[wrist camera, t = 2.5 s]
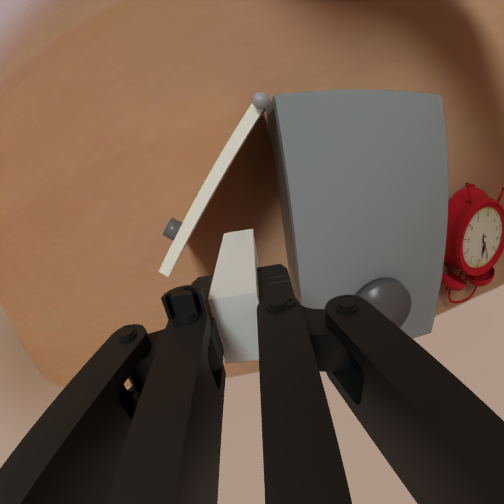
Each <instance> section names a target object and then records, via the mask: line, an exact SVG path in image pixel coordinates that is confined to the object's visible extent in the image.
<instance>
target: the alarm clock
mask: <svg viewBox="0 0 504 504" xmlns="http://www.w3.org/2000/svg"><path fill="white" fill-rule="evenodd" d="M465 185H466V187H467V188H464V189H462V190H460V191H458V192H457V193H456V194H455V195H454V196H453V197H452V198H451V199H450V200H449V202H448V220H447V235H446V246H445V256H444V262H445V263H446V264H447V265H448V266H450V267H452V268H454V269H461V270H462V271H461V273H460V275H459V276H457V275H456V274H454V273H453V272H451V271H449V273H448V274H447V275H446V274H444V273H443V272H442V279H441V283H443V284H444V285H445V286H446V288H445V290H446V291H447V289H448V288H449V292H448V298H449V301H450V302H452V303H461V302H464V301H466V300H468V299H469V298H471V296H472V295H473V294H474V292H475V290H476V288H477V286H485V285H487V284H489V283H490V282H491V281H492V279H493V278H494V268H493V265H494V264H495V263H496V262H497V260H498V259H499V257H500V255H501V253H502V251H503V249H504V209H503V207H502V206H501V205H500V204H499V201H500V199H501V196H502V194H503V191H504V187H503V188H502V192H501V194H500V196H499V198H498V200H497V201H496V200H494V199H491V198H489V197H488V195H487V194H486V193H485V192H484V191H482V190H481V189H478V188H475V185H474V184H470V187H469V184H468V183H466V184H465ZM463 272H465V273H466V276H465V279H463V280H462V279H461V278H460V277H461V275H462V273H463ZM467 279H468V280H469V282H470V283H471V284H473V285H475V288H474V291H473V292H472V294H471V295H470V296H469V297H468V298H466V299H464V300H461V301H452V300H451V299H450V290H451V289H453V290H456V291H460V290H463V289H464V287H465V285H466V283H465V281H467Z"/></svg>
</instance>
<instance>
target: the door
mask: <svg viewBox="0 0 504 504" xmlns="http://www.w3.org/2000/svg"><path fill="white" fill-rule="evenodd" d="M269 102H270V98H269V96H268V95H267V94H266V93H264V92H259V93H256V94H255V95H254V97H253V102H252V104H251V105H250V107H249V109H248V110H247V112H246V113H245V115H244V116H243V118H242V120H241V121H240V123H239V124H238V126H237V128H236V129H235V131H234V133H233V134H232V136H231V138H230V139H229V141H228V143H227V144H226V146H225V148H224V149H223V151H222V153H221V154H220V156H219V158H218V159H217V161H216V163H215V165H214V166H213V168H212V170H211V172H210V173H209V175H208V177H207V179H206V181H205V182H204V184H203V186H202V188H201V190H200V191H199V193H198V195H197V197H196V199H195V201H194V202H193V204H192V206H191V208H190V210H189V212H188V214H187V216H186V218H185V219H184V221H183V223H182V222H180V221H178V220H176V219H174V218H171V220H170V221H169V223H168V225H167V226H166V228H165V230H164V233H163V235H164V236H166V237H168V238H169V239H171V240H173V243H172V245H171V247H170V249H169V251H168V253H167V255H166V257H165V259H164V261H163V263H162V266H161V268H160V270H159V272H160V273H162V274H164V275H166V276H168V277H169V275H170V273H171V271H172V269H173V267H174V266H175V264H176V262H177V260H178V258H179V257H180V255H181V253H182V251H183V249H184V248H185V246H186V244H187V242H188V240H189V239H190V237H191V235H192V233H193V231H194V229H195V227H196V226H197V224H198V222H199V220H200V218H201V216H202V215H203V213H204V211H205V209H206V207H207V206H208V204H209V202H210V200H211V198H212V197H213V195H214V193H215V191H216V190H217V188H218V186H219V184H220V183H221V181H222V179H223V177H224V176H225V174H226V172H227V171H228V169H229V167H230V166H231V164H232V162H233V160H234V159H235V157H236V155H237V154H238V152H239V150H240V149H241V147H242V146H243V144H244V142H245V141H246V139H247V137H248V136H249V134H250V133H251V131H252V129H253V128H254V126H255V125H256V123H257V121H258V120H259V118H261V117H262V116H263V114H264V112H265V110H266V108H267V106H268V104H269Z"/></svg>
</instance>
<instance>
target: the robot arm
mask: <svg viewBox="0 0 504 504" xmlns="http://www.w3.org/2000/svg"><path fill="white" fill-rule="evenodd" d="M161 299H162V302H163V305H164V308H165V311H166V314H167V316H168V319H169V320H168V323H167V326H166V328H165V329H163V330H160V331H157V332H153V333H150V334H147V331H146V329H145V328H144V327H143V326H142V325H138V324H133V325H126V326H123V327H122V328H120V329H118V330H117V331H116V332H114V333H113V334H112V335H111V336H110V337H109V339H108V340H107V341H106V342H105V343H104V344H103V345H102V346H101V347H100V348H99V350H98V351H97V352H96V353H95V354H94V355H93V356H92V357H91V358H90V360H89V361H88V362H87V363H86V364H85V365H84V366H83V367H82V369H81V370H80V371H79V372H78V373H77V374H76V375H75V377H74V378H73V379H72V380H71V381H70V382H69V384H68V385H67V386H66V387H65V388H64V390H63V391H62V392H61V393H60V394H59V395H58V396H57V398H56V399H55V400H54V401H53V402H52V404H51V405H50V406H49V407H48V409H47V410H46V411H45V412H44V413H43V414H42V416H41V417H40V418H39V420H38V421H37V422H36V423H35V424H34V426H33V427H32V428H31V429H30V431H29V432H28V433H27V434H26V436H25V437H24V438H23V439H22V441H21V442H20V443H19V445H18V446H17V447H16V449H15V450H14V451H13V452H12V454H11V455H10V456H9V458H8V459H7V461H6V462H5V463H4V464H3V466H2V467H1V468H0V504H217V498H218V480H219V463H220V446H221V432H222V417H223V402H224V388H225V376H226V373H225V369H224V366H223V354H224V357H225V360H226V363H236V362H245V361H253V360H259V371H260V391H261V392H260V393H261V415H262V437H263V458H264V459H263V460H264V483H265V504H352V501H351V497H350V492H349V488H348V483H347V479H346V475H345V471H344V467H343V462H342V458H341V454H340V450H339V446H338V442H337V438H336V434H335V430H334V426H333V422H332V418H331V414H330V410H329V406H328V402H327V399H326V395H325V391H324V388H323V384H322V380H321V376H320V373H319V371H325V372H326V373H327V375H328V377H329V379H330V380H331V382H332V383H333V384H334V386H335V387H336V389H337V390H338V392H339V393H340V394H341V396H342V397H343V399H344V400H345V402H346V403H347V404H348V406H349V407H350V409H351V410H352V412H353V413H354V415H355V416H356V417H357V419H358V420H359V422H360V423H361V424H362V426H363V427H364V429H365V430H366V432H367V433H368V434H369V436H370V437H371V439H372V440H373V441H374V443H375V444H376V446H377V447H378V449H379V450H380V451H381V453H382V454H383V456H384V457H385V458H386V460H387V461H388V463H389V464H390V466H391V467H392V468H393V470H394V471H395V472H396V474H397V475H398V477H399V478H400V480H401V481H402V482H403V484H404V485H405V487H406V488H407V489H408V491H409V492H410V494H411V495H412V496H413V498H414V499H415V501H416V502H417V503H418V504H504V421H503V420H502V419H501V418H500V417H499V416H497V415H496V414H495V413H494V412H493V411H492V410H491V409H490V408H489V407H488V406H487V405H486V404H485V403H484V402H483V401H482V400H480V399H479V398H478V397H477V396H476V395H475V394H474V393H473V392H472V391H471V390H469V388H468V387H466V386H465V385H464V384H463V383H462V382H461V381H460V380H459V379H458V378H456V377H455V376H454V375H453V374H452V373H451V372H450V371H449V370H447V369H446V368H445V367H444V366H443V365H442V364H441V363H440V362H438V361H437V360H436V359H435V358H434V357H433V356H432V355H430V354H429V353H428V352H427V351H426V350H425V349H424V348H422V347H421V346H420V345H419V344H418V343H416V342H415V341H414V340H413V339H412V338H411V337H410V336H408V335H407V334H406V333H405V332H404V331H403V330H401V329H400V328H399V327H398V326H397V325H395V324H394V323H393V322H392V321H391V320H389V319H388V318H387V317H386V316H385V315H383V314H382V313H381V312H380V311H379V310H377V309H376V308H375V307H374V306H373V305H371V304H370V303H369V302H368V301H366V300H365V299H363V298H361V297H360V296H355V295H341V296H337V297H334V298H332V299H330V300H329V301H328V302H327V303H326V306H325V309H312V308H307V307H304V306H302V305H300V303H299V301H298V300H297V298H295V295H294V291H293V288H292V284H291V281H290V278H289V274H288V271H287V268H285V267H284V266H283V265H281V264H277V265H271V266H265V267H259V262H258V256H257V250H256V244H255V238H254V232H253V229H247V230H241V231H235V232H229V233H224V235H223V239H222V243H221V247H220V251H219V255H218V259H217V263H216V267H215V272H214V275H211V276H204V277H198V278H197V279H196V280H195V281H194V282H193V283H192V284H191V285H185V286H181V287H177V288H174V289H172V290H170V291H168V292H167V293H165V294H164V295H163V296H162V298H161ZM127 379H129V380H130V382H131V384H132V386H131V388H129V389H128V390H127V389H126V388H125V386H124V383H125V381H126V380H127Z"/></svg>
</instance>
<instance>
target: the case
mask: <svg viewBox="0 0 504 504" xmlns="http://www.w3.org/2000/svg"><path fill="white" fill-rule="evenodd" d="M266 115H267V120H268V126H269V133H270V139H271V145H272V151H273V158H274V164H275V171H276V178H277V184H278V191H279V198H280V206H281V213H282V220H283V228H284V235H285V243H286V251H287V259H288V268H289V276H290V281H291V284H292V288H293V291H294V295H295V298H297V300H298V301H299V303H300V305H302V306H304V307H307V308H312V309H325V306H326V303H327V302H328V301H329V300H330V299H332V298H334V297H337V296H341V295H355V296H360V297H361V298H363V299H365V300H366V301H368V302H369V303H370V304H371V305H373V306H374V307H375V308H376V309H377V310H379V311H380V312H381V313H382V314H383V315H385V316H386V317H387V318H388V319H389V320H391V321H392V322H393V323H394V324H395V325H397V326H398V327H399V328H400V329H401V330H403V331H404V332H405V333H406V334H407V335H408V336H410V337H411V338H415V337H419V336H422V335H425V334H428V333H431V330H432V325H433V321H434V317H435V312H436V307H437V302H438V297H439V291H440V285H441V279H442V272H443V264H444V256H445V246H446V235H447V220H448V152H447V138H446V127H445V118H444V110H443V103H442V96H441V95H439V94H430V93H420V92H408V91H392V90H325V91H308V92H296V93H285V94H276V95H274V96H273V98H272V100H271V102H270V104H269V105H268V107H267V109H266Z"/></svg>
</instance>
